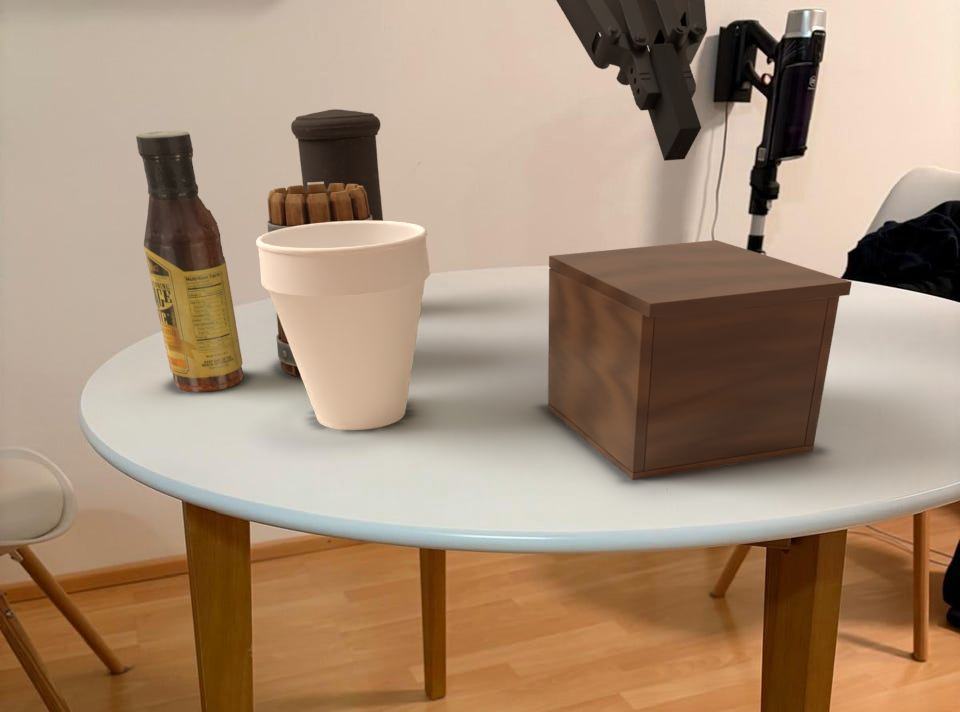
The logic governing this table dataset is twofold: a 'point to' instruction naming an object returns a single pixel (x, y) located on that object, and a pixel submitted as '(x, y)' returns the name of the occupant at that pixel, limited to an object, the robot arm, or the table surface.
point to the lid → (695, 277)
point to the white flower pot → (349, 313)
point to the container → (340, 151)
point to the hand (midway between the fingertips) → (682, 144)
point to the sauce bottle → (188, 269)
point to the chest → (687, 379)
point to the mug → (311, 209)
